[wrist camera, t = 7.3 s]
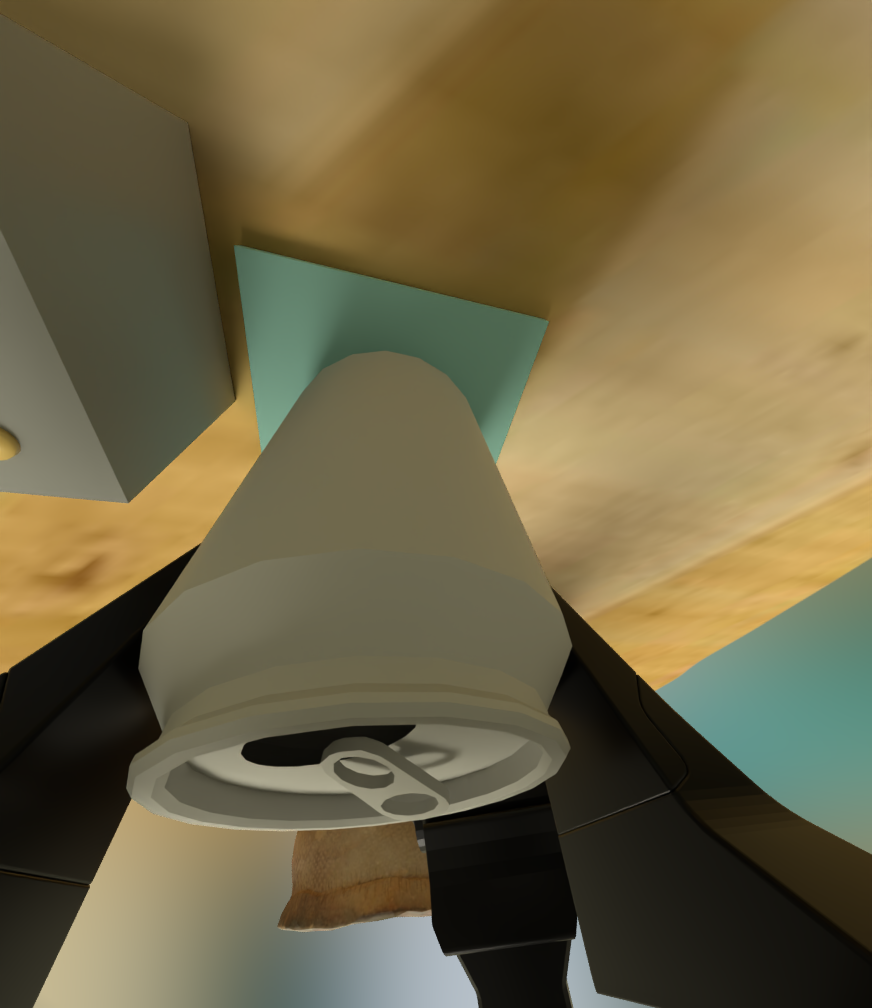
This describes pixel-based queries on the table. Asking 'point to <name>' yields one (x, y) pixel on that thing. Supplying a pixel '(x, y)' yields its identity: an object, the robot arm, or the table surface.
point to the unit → (98, 282)
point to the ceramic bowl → (356, 877)
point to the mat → (376, 336)
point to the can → (356, 624)
